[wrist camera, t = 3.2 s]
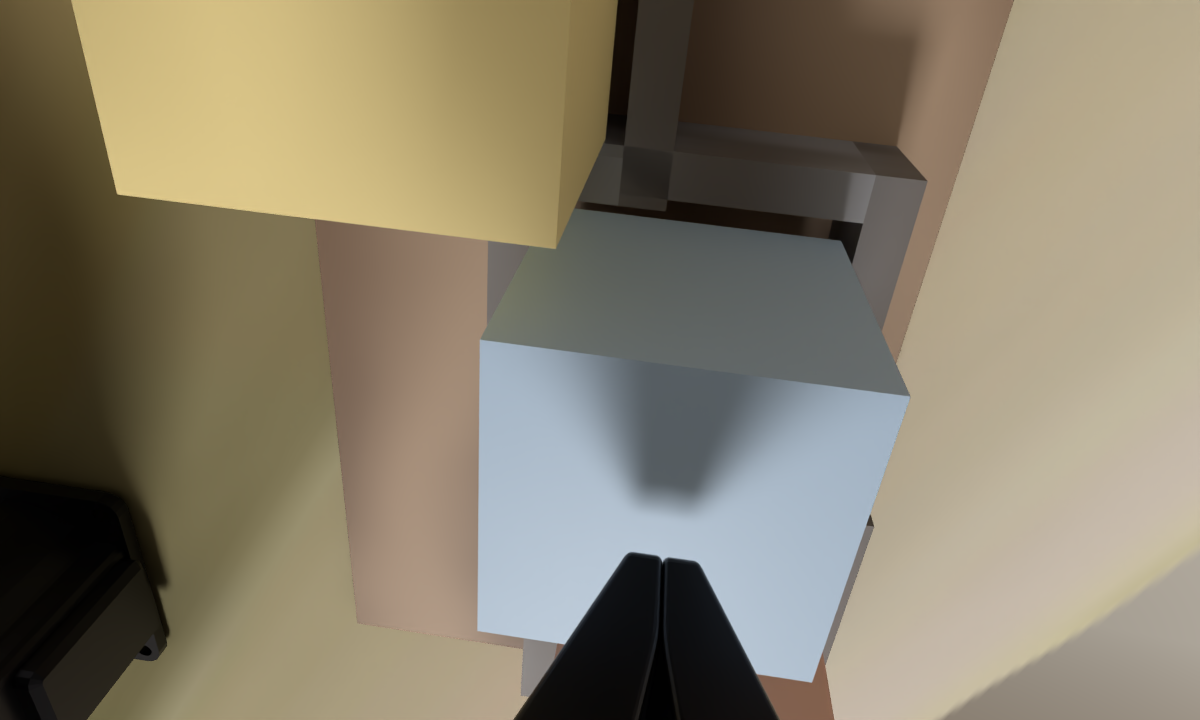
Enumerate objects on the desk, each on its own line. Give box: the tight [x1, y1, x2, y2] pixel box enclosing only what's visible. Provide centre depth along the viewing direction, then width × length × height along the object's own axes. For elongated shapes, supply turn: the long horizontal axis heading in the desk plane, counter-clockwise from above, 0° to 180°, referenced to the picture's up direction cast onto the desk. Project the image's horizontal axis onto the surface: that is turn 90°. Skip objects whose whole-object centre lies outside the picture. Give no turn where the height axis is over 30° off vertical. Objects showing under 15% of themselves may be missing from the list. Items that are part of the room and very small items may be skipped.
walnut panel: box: [315, 0, 1014, 697], centre depth 16 cm, size 12×21×3 cm, turn 175°
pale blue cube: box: [477, 208, 910, 683], centre depth 12 cm, size 5×5×5 cm
